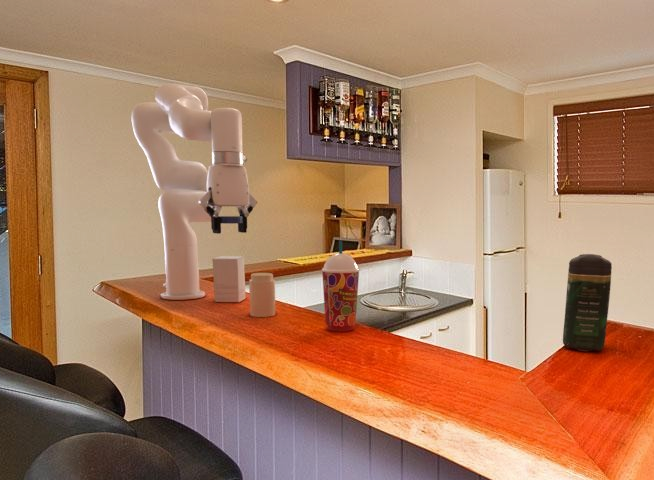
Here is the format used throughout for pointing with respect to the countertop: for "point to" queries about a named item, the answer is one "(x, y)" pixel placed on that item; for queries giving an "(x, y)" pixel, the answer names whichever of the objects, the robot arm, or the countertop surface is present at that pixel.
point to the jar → (262, 295)
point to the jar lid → (231, 219)
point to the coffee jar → (587, 302)
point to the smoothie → (340, 291)
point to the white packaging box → (229, 278)
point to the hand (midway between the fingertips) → (229, 232)
